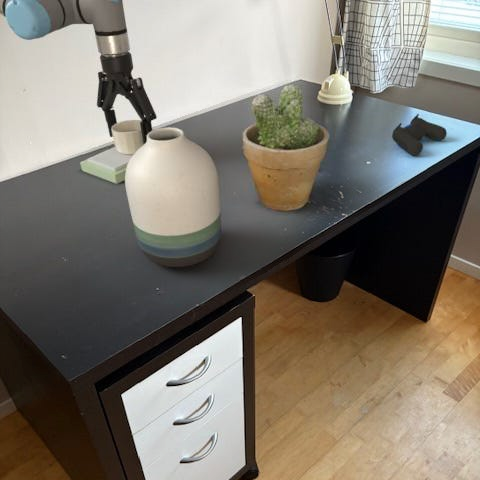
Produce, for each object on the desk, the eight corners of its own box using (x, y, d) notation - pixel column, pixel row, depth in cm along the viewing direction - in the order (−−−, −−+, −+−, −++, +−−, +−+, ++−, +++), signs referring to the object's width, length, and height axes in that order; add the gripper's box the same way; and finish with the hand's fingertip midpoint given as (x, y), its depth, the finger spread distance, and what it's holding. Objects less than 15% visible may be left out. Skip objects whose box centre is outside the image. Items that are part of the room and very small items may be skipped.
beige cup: (109, 150, 130) (104, 128, 126) (134, 139, 135) (130, 117, 131) (132, 158, 125) (128, 135, 121) (157, 146, 131) (154, 124, 126)
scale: (82, 170, 128) (79, 159, 126) (151, 139, 143) (149, 128, 141) (116, 184, 121) (114, 172, 119) (185, 149, 136) (184, 138, 134)
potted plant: (259, 177, 121) (258, 70, 104) (331, 187, 116) (342, 76, 99) (233, 212, 109) (227, 97, 92) (312, 224, 103) (321, 104, 86)
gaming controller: (437, 146, 137) (414, 121, 138) (451, 131, 132) (427, 106, 133) (407, 165, 129) (382, 138, 130) (421, 150, 124) (395, 122, 125)
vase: (135, 237, 102) (111, 123, 86) (212, 224, 105) (202, 111, 89) (146, 283, 90) (120, 160, 74) (232, 266, 93) (225, 145, 77)
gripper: (163, 56, 111) (174, 146, 125) (94, 43, 122) (111, 126, 137) (139, 64, 106) (153, 156, 121) (70, 49, 118) (90, 135, 132)
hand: (131, 140), depth 129 cm, fingers open, 13 cm apart
